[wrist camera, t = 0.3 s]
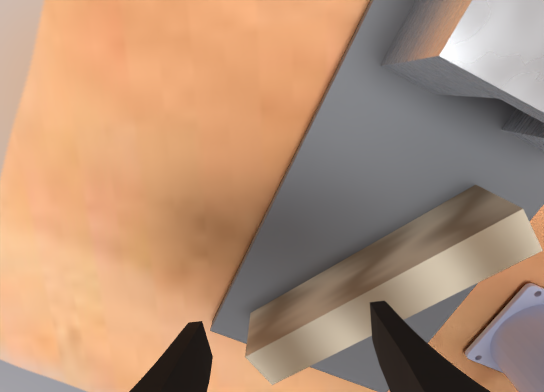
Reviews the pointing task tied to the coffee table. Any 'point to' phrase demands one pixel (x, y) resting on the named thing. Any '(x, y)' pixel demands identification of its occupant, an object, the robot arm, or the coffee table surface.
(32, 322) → the coffee table surface
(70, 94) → the coffee table surface
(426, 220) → the slat
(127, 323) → the coffee table surface
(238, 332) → the board
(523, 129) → the grey rectangular block
